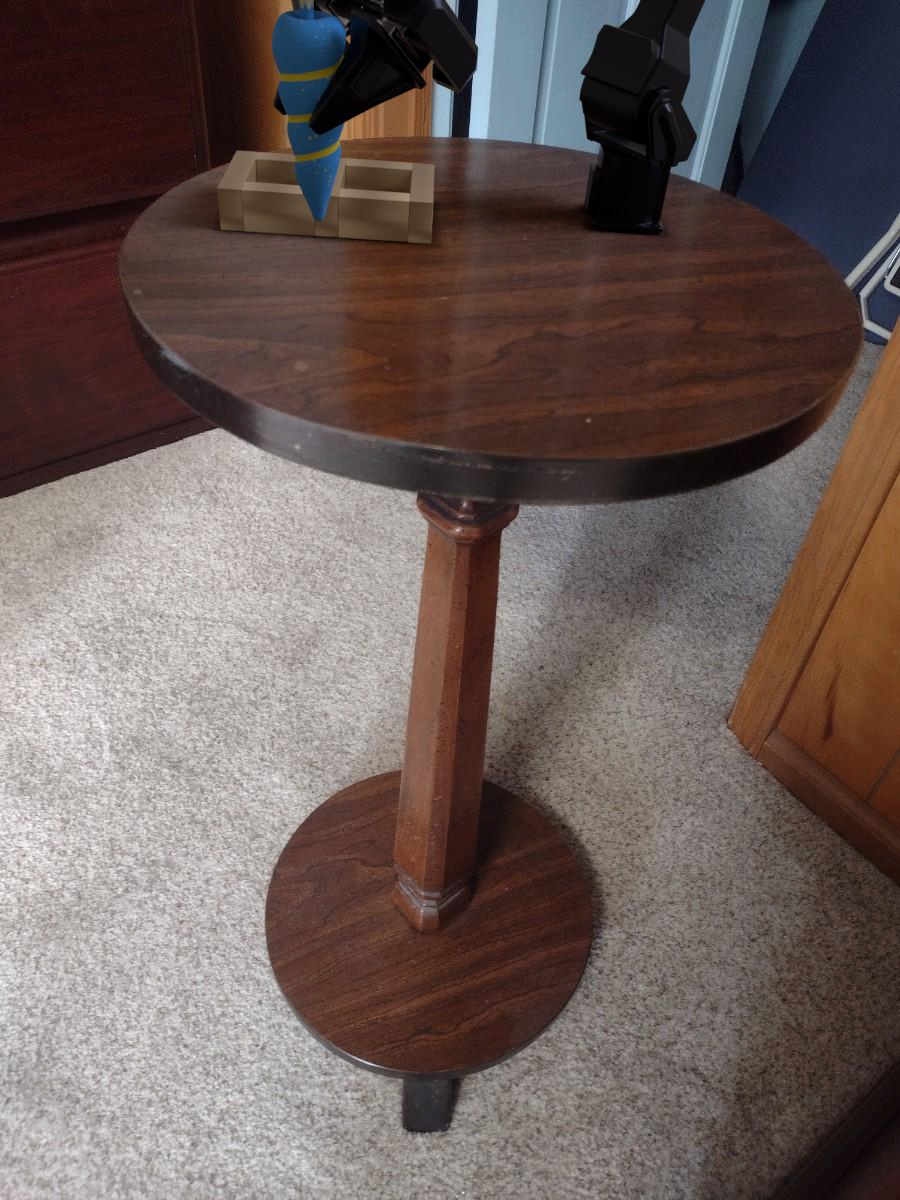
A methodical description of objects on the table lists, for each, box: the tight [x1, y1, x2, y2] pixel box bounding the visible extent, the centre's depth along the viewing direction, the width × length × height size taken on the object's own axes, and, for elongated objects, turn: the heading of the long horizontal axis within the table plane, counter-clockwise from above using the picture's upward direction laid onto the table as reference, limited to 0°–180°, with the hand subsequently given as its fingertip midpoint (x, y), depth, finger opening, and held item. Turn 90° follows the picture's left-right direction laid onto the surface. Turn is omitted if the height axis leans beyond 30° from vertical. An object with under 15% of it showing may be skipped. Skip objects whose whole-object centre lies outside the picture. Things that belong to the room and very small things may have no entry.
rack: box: [216, 150, 435, 245], centre depth 86 cm, size 18×10×4 cm, turn 90°
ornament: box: [271, 0, 347, 221], centre depth 67 cm, size 5×5×15 cm
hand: (295, 120), depth 67 cm, fingers closed on ornament, 4 cm apart
